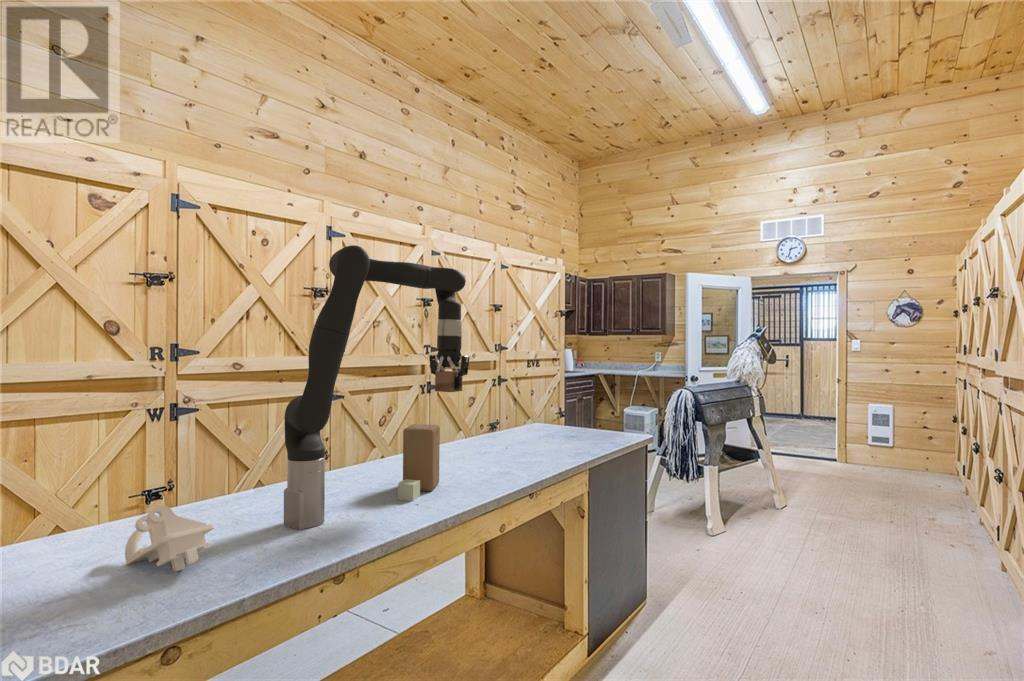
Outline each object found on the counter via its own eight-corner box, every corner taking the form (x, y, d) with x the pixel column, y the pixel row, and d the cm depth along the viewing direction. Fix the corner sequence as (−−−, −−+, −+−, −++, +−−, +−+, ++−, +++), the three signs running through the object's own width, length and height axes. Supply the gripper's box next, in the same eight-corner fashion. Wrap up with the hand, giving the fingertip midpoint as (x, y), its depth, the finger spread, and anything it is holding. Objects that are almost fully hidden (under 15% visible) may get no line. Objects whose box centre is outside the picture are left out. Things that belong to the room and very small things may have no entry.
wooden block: (439, 483, 180) (440, 424, 180) (432, 492, 170) (433, 429, 170) (410, 482, 181) (411, 423, 181) (401, 491, 171) (402, 428, 171)
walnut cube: (451, 392, 162) (451, 372, 162) (435, 391, 165) (435, 371, 165) (462, 390, 167) (462, 371, 167) (446, 389, 170) (446, 370, 170)
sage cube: (413, 501, 161) (413, 484, 161) (397, 499, 162) (398, 483, 162) (420, 496, 166) (420, 480, 166) (405, 495, 167) (405, 479, 167)
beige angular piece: (126, 592, 112) (115, 531, 116) (184, 573, 122) (172, 517, 125) (166, 570, 102) (152, 504, 106) (225, 551, 112) (211, 490, 115)
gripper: (423, 334, 166) (422, 388, 166) (461, 334, 159) (460, 391, 159) (438, 334, 172) (437, 386, 172) (475, 334, 165) (474, 389, 165)
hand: (448, 388), depth 166 cm, fingers closed on walnut cube, 6 cm apart
